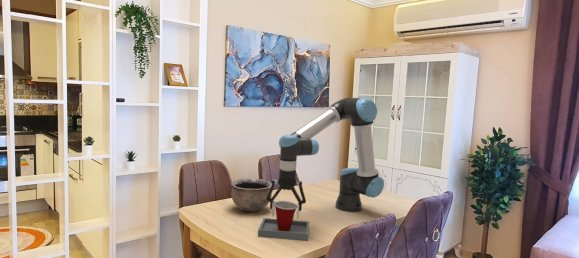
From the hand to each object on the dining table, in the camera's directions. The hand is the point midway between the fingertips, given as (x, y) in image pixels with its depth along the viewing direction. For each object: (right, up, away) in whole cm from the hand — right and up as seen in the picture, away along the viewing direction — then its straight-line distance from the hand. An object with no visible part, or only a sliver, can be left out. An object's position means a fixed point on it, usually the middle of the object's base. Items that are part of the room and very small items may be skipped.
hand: (285, 216), depth 165 cm
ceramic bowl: (-19, -4, +30) cm, 36 cm away
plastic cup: (0, -6, +1) cm, 6 cm away
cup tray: (0, -7, +1) cm, 7 cm away
